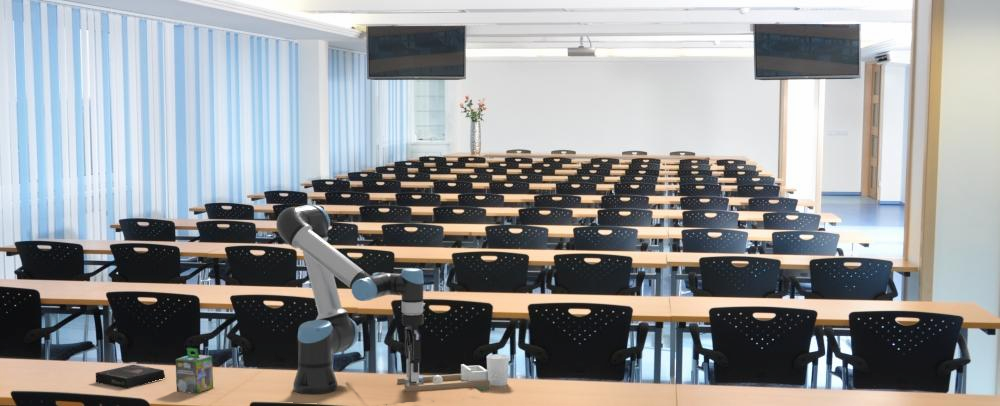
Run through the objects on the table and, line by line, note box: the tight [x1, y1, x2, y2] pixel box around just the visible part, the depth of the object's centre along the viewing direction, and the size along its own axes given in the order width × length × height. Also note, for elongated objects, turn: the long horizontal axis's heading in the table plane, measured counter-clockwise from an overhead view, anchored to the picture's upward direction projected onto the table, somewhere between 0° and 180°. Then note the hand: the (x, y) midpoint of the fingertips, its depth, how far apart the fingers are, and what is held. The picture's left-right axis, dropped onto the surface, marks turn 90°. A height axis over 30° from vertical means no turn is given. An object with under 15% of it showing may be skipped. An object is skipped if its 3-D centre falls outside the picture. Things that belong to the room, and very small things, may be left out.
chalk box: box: [175, 347, 214, 394], centre depth 385 cm, size 9×9×15 cm
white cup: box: [486, 353, 510, 387], centre depth 395 cm, size 8×8×10 cm
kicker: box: [404, 344, 425, 386], centre depth 385 cm, size 5×7×15 cm
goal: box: [460, 363, 488, 382], centre depth 393 cm, size 7×10×6 cm
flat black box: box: [95, 364, 166, 389], centre depth 398 cm, size 16×17×4 cm
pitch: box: [396, 373, 491, 393], centre depth 389 cm, size 30×13×3 cm, turn 109°
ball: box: [432, 374, 444, 384], centre depth 389 cm, size 4×4×4 cm
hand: (412, 379), depth 386 cm, fingers open, 6 cm apart
